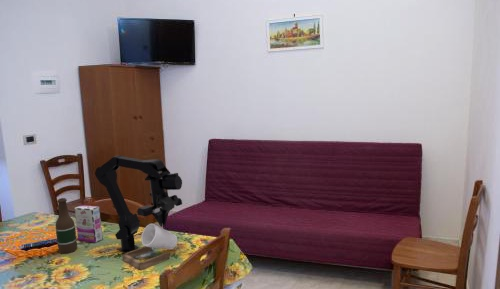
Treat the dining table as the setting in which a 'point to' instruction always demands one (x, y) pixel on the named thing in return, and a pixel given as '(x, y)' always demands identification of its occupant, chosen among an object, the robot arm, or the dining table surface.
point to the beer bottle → (65, 229)
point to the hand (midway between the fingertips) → (162, 226)
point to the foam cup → (158, 237)
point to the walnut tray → (142, 265)
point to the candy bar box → (88, 223)
